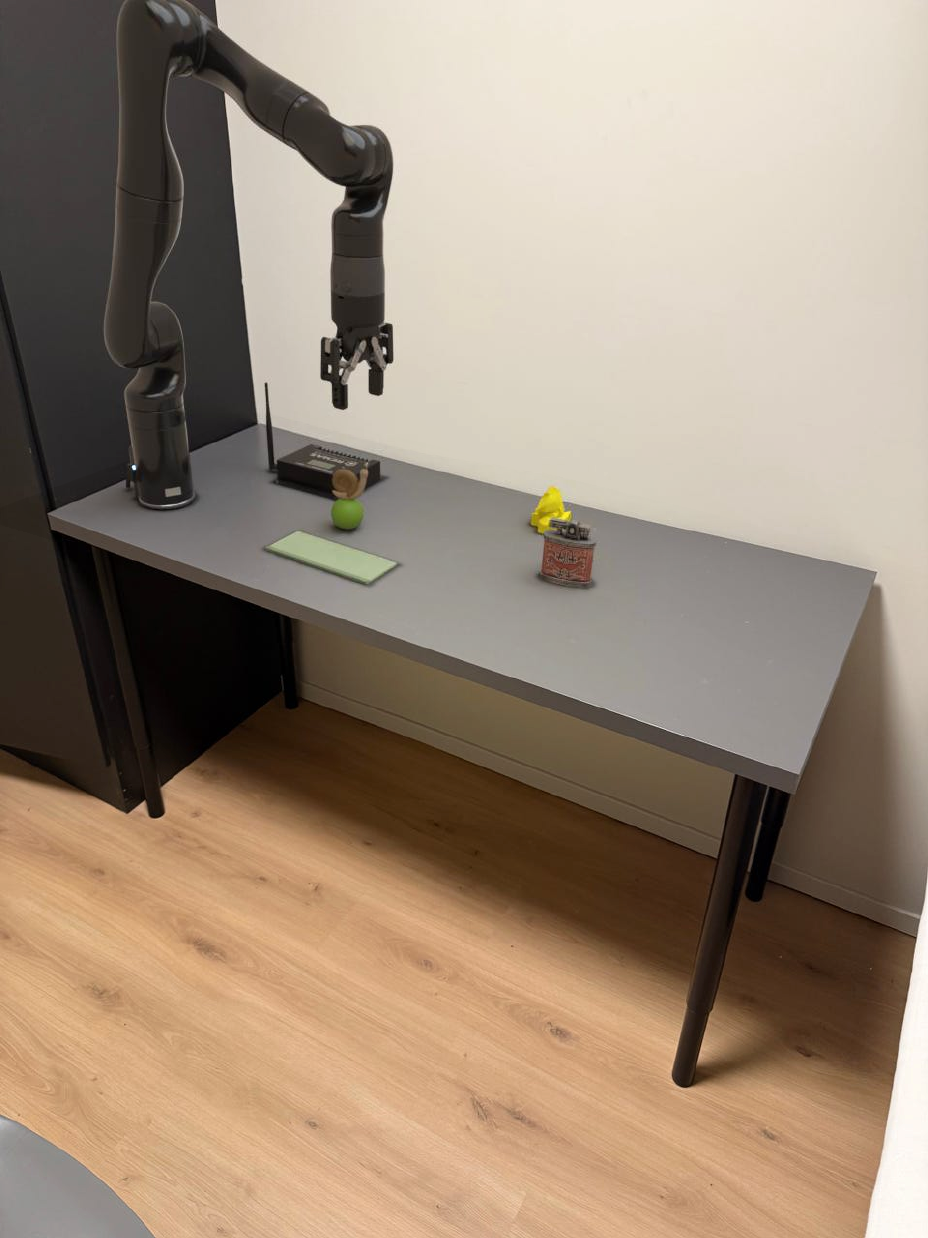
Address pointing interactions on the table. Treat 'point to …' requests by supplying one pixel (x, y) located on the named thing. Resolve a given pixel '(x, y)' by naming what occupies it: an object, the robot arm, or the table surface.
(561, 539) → the lighter
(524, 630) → the table surface
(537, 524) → the crumpled paper
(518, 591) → the table surface
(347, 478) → the snail figurine
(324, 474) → the wireless controller
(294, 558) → the front mat
